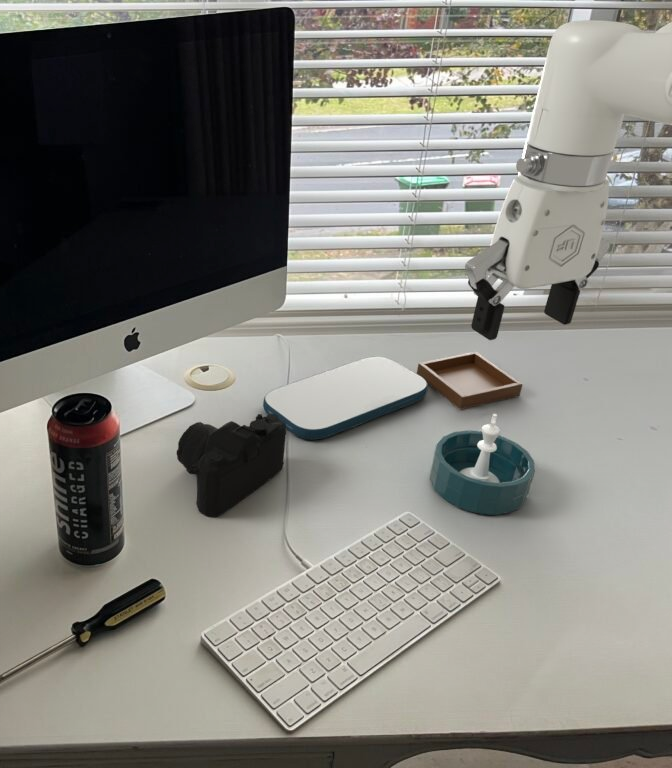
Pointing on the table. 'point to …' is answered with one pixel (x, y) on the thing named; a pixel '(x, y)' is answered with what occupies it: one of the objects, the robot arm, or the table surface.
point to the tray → (469, 380)
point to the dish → (475, 494)
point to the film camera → (232, 460)
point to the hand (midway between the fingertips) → (520, 326)
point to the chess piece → (485, 454)
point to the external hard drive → (344, 397)
